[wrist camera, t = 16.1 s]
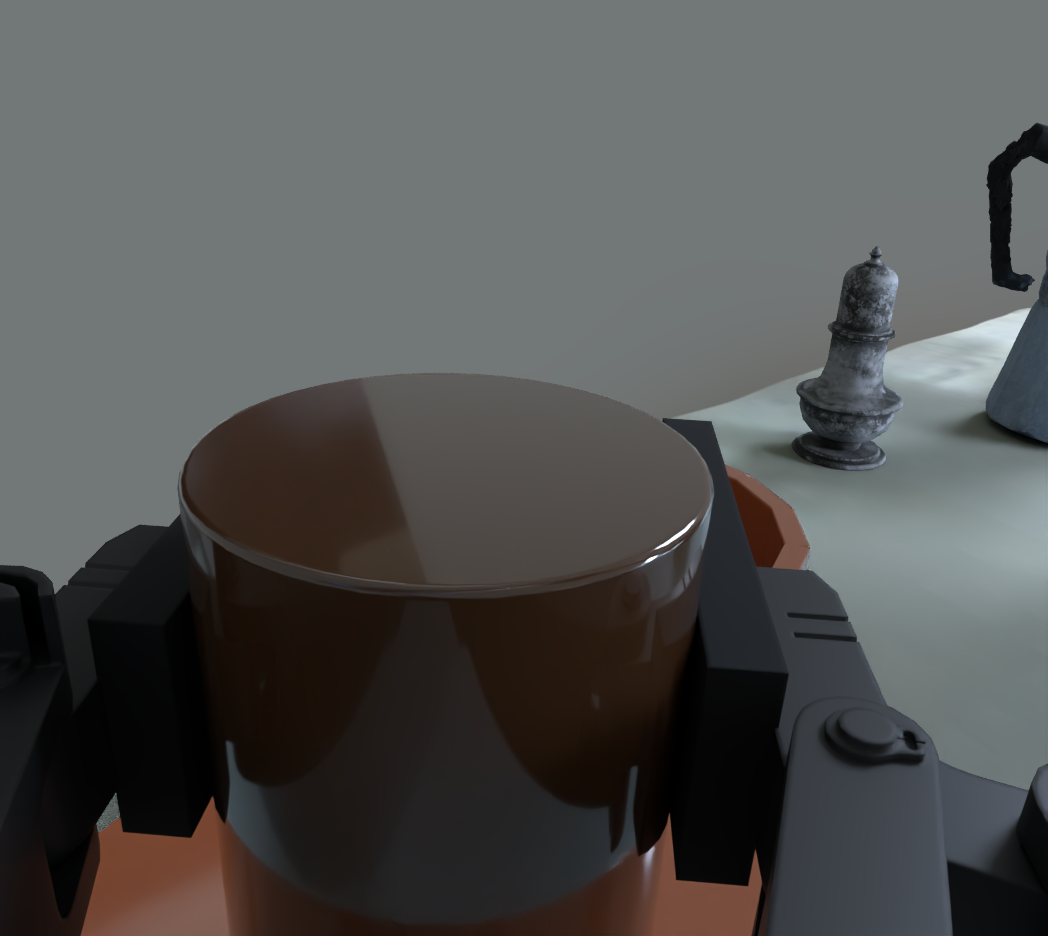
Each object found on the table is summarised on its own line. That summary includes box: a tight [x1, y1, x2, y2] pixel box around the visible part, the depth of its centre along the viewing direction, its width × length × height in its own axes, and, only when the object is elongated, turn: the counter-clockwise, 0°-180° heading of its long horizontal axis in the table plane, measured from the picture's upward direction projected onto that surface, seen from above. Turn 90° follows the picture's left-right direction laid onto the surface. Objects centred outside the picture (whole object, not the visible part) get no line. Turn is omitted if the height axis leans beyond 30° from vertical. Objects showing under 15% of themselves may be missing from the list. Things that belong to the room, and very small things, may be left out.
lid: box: [81, 373, 762, 936], centre depth 12 cm, size 15×15×10 cm
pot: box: [725, 465, 810, 570], centre depth 32 cm, size 14×14×8 cm
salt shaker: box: [792, 246, 903, 470], centre depth 54 cm, size 6×6×12 cm
